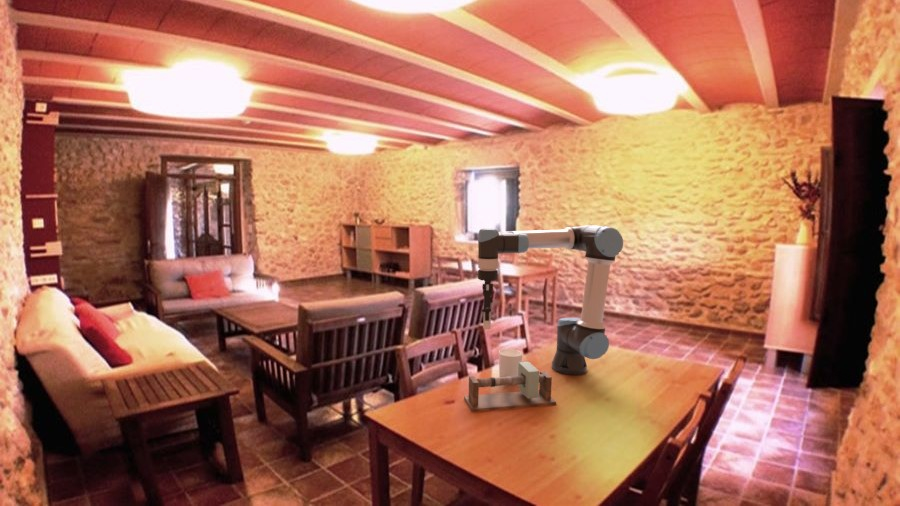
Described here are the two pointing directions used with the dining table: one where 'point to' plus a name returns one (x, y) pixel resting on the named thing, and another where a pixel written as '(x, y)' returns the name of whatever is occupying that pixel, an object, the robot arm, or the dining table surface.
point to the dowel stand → (507, 399)
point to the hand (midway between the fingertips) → (487, 323)
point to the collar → (529, 379)
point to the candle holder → (509, 362)
